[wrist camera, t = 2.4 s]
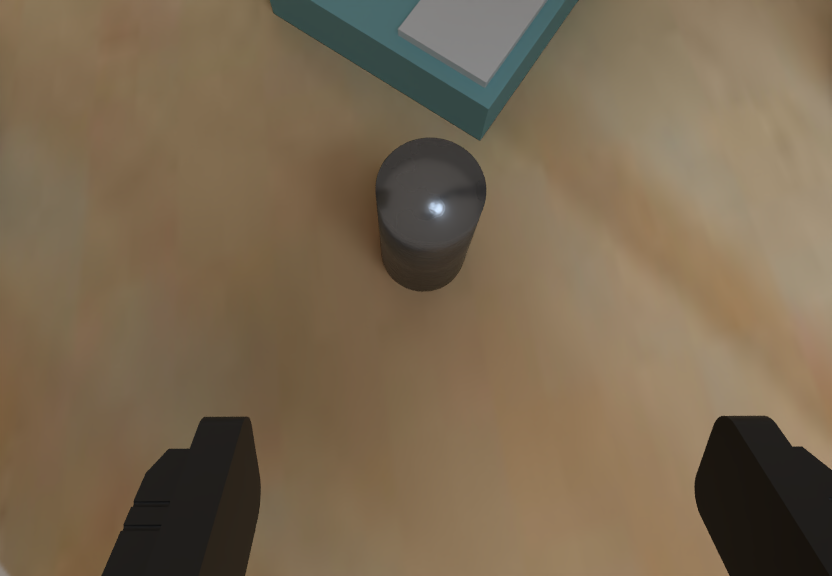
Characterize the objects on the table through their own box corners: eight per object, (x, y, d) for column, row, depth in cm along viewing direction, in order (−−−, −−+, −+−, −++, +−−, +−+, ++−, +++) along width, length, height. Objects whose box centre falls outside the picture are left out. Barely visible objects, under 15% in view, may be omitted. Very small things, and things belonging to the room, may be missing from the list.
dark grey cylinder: (480, 240, 39) (507, 175, 29) (434, 307, 38) (447, 263, 28) (411, 196, 40) (415, 118, 30) (365, 261, 39) (353, 202, 29)
